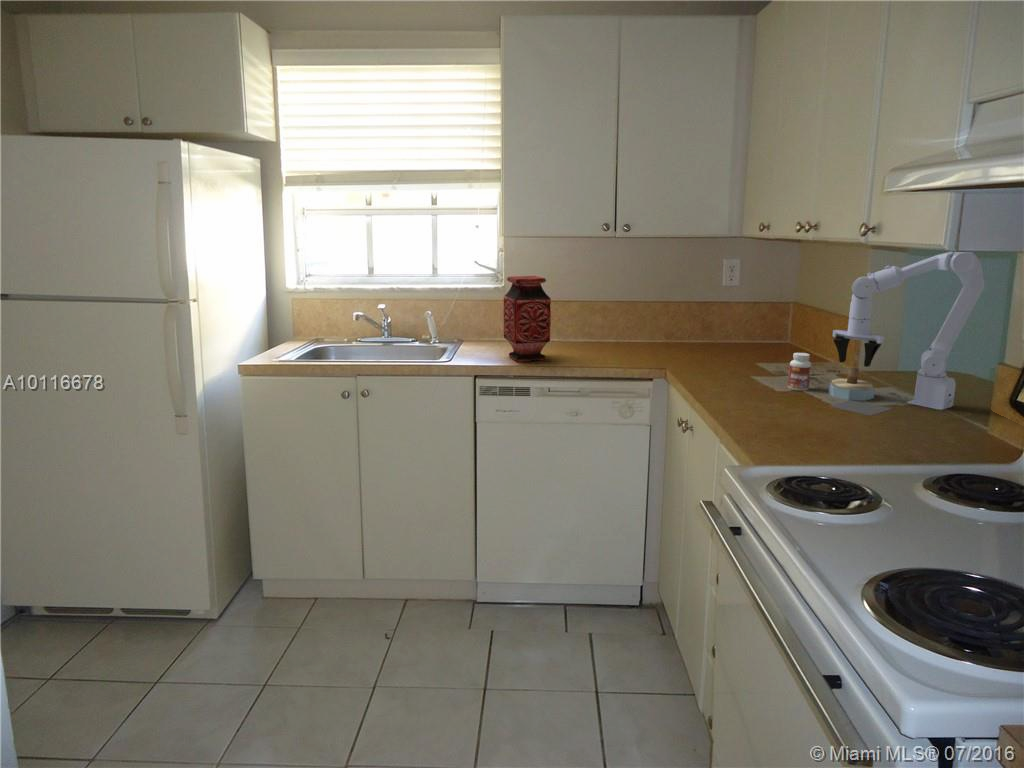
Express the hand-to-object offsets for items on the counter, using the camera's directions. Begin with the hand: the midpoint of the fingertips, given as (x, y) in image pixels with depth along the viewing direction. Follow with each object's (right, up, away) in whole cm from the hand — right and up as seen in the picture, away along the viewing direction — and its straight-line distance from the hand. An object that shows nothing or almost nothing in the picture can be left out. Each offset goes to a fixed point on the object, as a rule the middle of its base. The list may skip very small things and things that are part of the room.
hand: (854, 364), depth 219 cm
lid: (0, -6, +1) cm, 6 cm away
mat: (-4, -13, -11) cm, 18 cm away
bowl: (0, -10, +2) cm, 10 cm away
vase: (-96, +3, +57) cm, 112 cm away
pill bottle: (-12, -8, +12) cm, 18 cm away
